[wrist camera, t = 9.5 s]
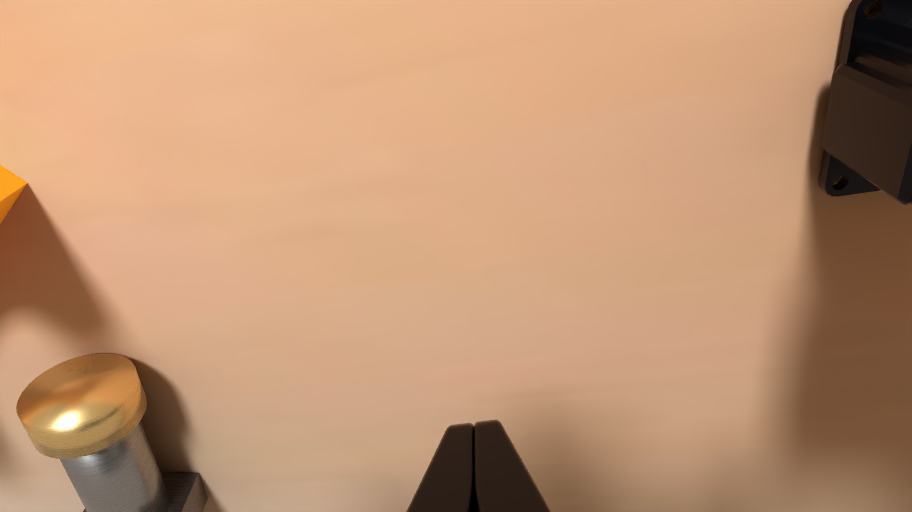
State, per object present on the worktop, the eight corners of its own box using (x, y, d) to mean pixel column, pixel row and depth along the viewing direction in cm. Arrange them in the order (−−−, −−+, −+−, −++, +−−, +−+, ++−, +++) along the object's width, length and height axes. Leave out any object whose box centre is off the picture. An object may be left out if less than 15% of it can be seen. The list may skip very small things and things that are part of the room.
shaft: (50, 353, 24) (-15, 428, 21) (158, 353, 24) (110, 428, 21) (118, 500, 29) (75, 580, 26) (207, 500, 29) (175, 580, 26)
